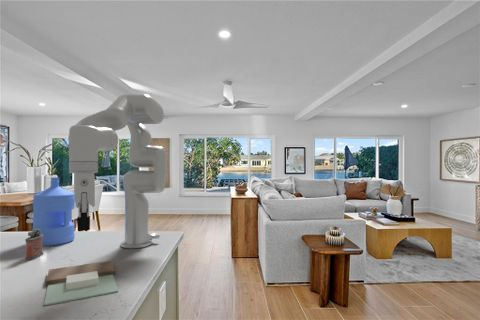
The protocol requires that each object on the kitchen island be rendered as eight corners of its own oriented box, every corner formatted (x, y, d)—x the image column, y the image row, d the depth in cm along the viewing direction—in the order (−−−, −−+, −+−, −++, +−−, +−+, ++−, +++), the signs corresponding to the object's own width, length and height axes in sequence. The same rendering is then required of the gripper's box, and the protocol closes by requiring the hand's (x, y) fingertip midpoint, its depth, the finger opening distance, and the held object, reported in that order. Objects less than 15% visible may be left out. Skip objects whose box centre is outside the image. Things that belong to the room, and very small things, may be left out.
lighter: (36, 253, 113) (36, 227, 113) (45, 253, 113) (45, 227, 113) (22, 260, 105) (22, 232, 105) (32, 260, 105) (32, 232, 105)
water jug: (22, 245, 124) (23, 178, 124) (54, 236, 139) (54, 176, 139) (54, 248, 120) (55, 179, 120) (82, 238, 136) (83, 177, 136)
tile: (97, 276, 90) (97, 271, 90) (98, 284, 85) (98, 277, 85) (66, 282, 86) (66, 275, 86) (66, 289, 81) (66, 283, 81)
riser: (111, 265, 101) (111, 260, 101) (114, 275, 92) (114, 270, 92) (48, 274, 93) (49, 269, 93) (46, 286, 84) (46, 280, 84)
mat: (113, 275, 92) (113, 274, 92) (118, 291, 81) (118, 290, 81) (48, 286, 84) (48, 284, 84) (43, 306, 72) (43, 304, 72)
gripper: (99, 168, 82) (99, 234, 82) (96, 166, 95) (96, 223, 95) (68, 169, 78) (68, 238, 79) (69, 166, 91) (69, 226, 92)
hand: (83, 230), depth 87 cm, fingers closed
